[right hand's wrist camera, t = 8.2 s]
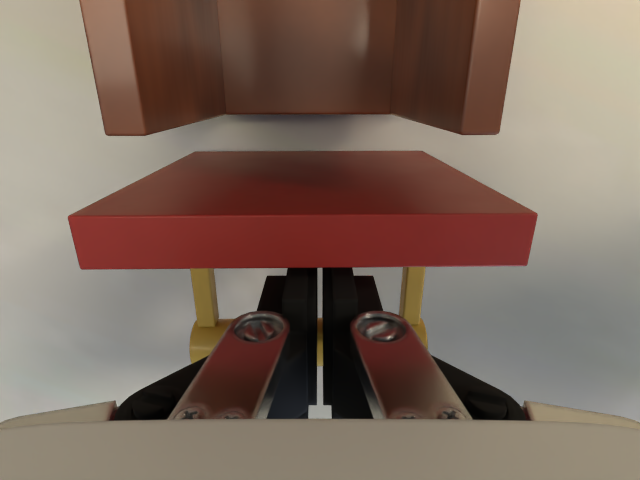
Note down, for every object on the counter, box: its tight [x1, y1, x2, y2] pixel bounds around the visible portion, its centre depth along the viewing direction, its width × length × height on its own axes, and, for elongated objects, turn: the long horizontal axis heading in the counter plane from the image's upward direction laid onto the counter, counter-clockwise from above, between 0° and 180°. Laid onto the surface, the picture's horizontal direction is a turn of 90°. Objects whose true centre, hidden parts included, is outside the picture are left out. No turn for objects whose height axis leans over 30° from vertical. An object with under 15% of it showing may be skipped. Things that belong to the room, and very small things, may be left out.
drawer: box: [68, 0, 538, 366], centre depth 11 cm, size 21×10×9 cm, turn 0°
